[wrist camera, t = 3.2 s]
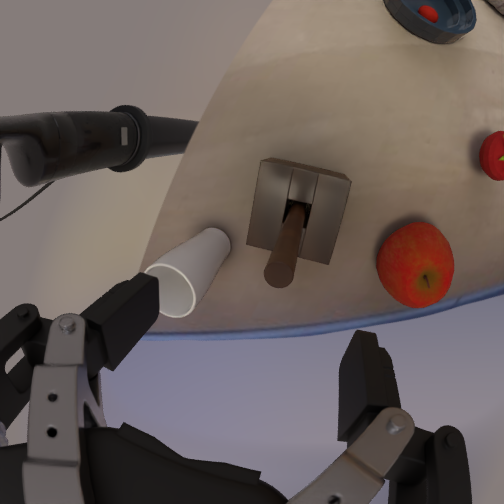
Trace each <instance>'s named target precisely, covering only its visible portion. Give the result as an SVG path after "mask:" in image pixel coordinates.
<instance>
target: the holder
mask: <svg viewBox="0 0 504 504" xmlns="http://www.w3.org/2000/svg"><path fill="white" fill-rule="evenodd" d="M351 182H352V181H351V180H350V179H349V178H348V177H347V176H346V175H345V174H341V173H337V172H333V171H329V170H325V169H321V168H317V167H313V166H308V165H304V164H300V163H295V162H291V161H286V160H281V159H276V158H268V159H264V160H261V161H260V167H259V173H258V178H257V184H256V190H255V196H254V201H253V207H252V213H251V219H250V224H249V230H248V236H247V242H246V245H250V246H254V247H259V248H263V249H267V250H271V251H273V249H274V246H275V244H276V241H277V239H278V237H279V234H280V232H281V229H282V227H283V225H284V222H285V220H286V217H287V215H288V213H289V210H290V209H288V207H289V203H290V200H295V201H299V202H303V203H307V204H310V208H309V213H308V214H307V213H305V218H304V223H303V229H302V235H301V240H300V246H299V251H298V257H299V258H303V259H307V260H311V261H315V262H319V263H323V264H327V265H329V262H330V259H331V256H332V252H333V249H334V246H335V242H336V239H337V235H338V232H339V228H340V225H341V221H342V217H343V214H344V210H345V206H346V202H347V198H348V194H349V190H350V186H351Z"/></svg>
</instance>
